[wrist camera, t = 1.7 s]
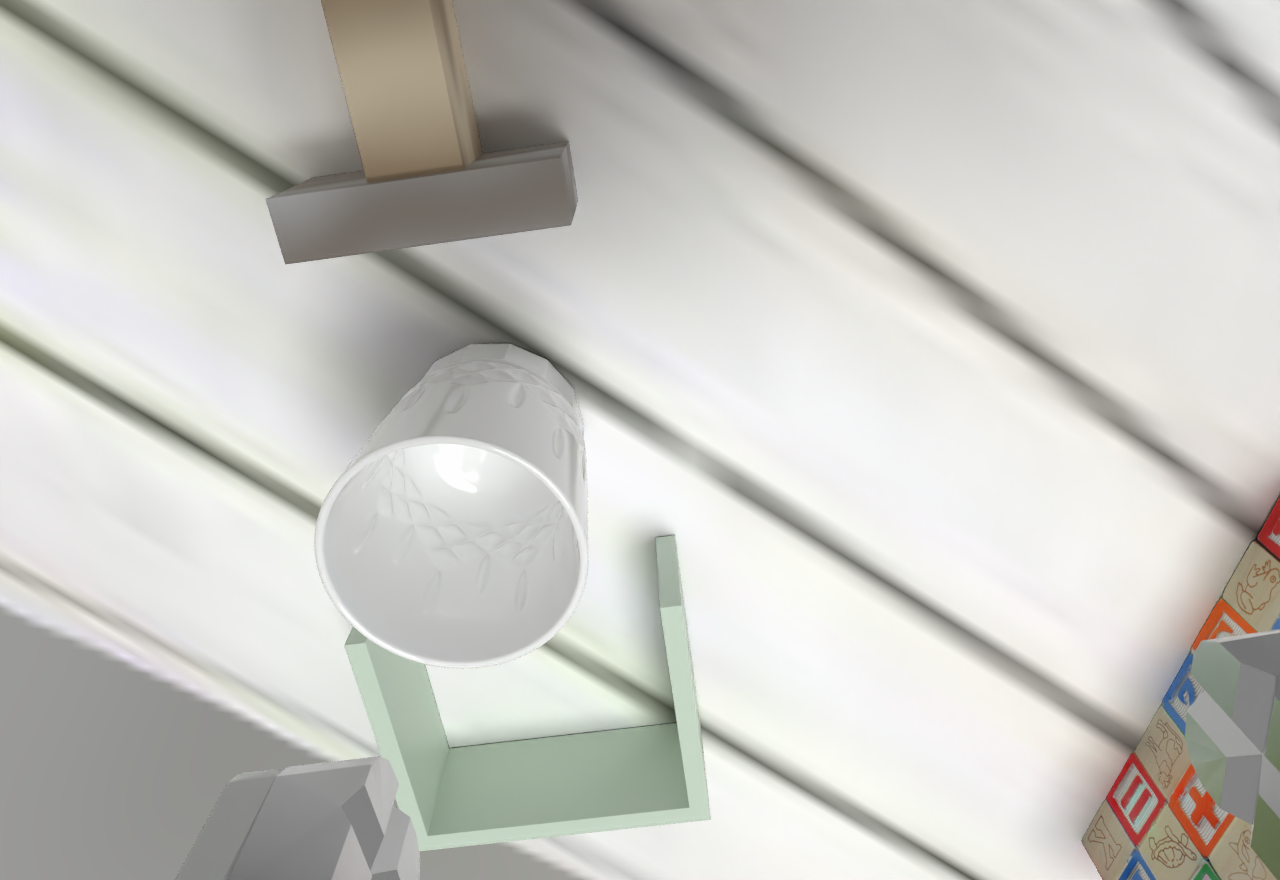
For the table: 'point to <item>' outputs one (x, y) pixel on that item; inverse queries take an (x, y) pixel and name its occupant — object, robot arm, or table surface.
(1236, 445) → the table surface
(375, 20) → the scraper
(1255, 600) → the stack of blocks
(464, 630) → the white cup
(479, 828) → the box
